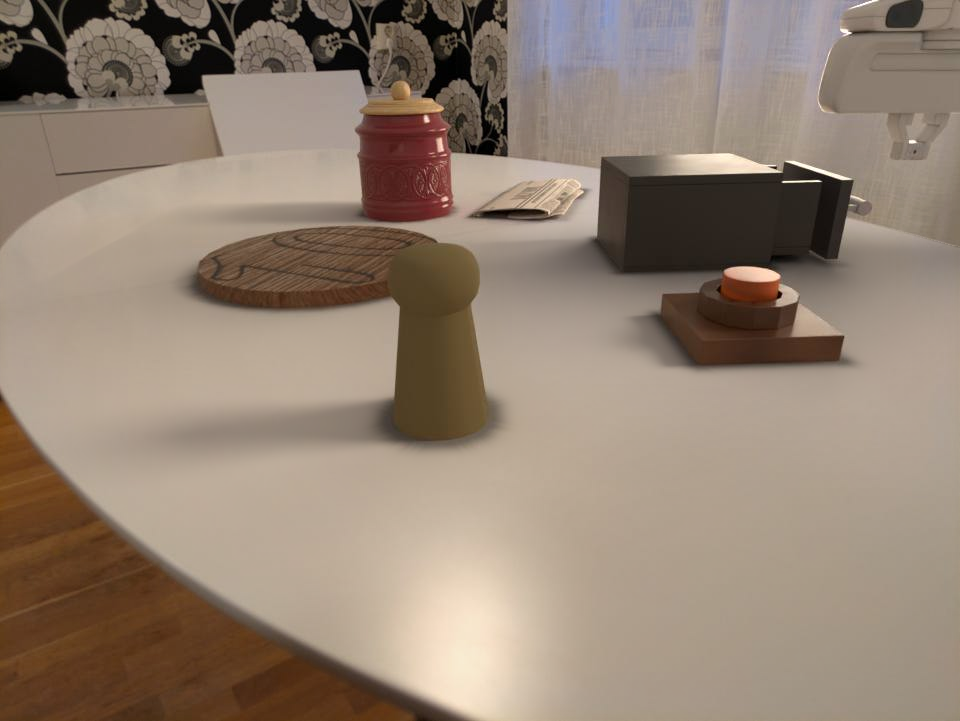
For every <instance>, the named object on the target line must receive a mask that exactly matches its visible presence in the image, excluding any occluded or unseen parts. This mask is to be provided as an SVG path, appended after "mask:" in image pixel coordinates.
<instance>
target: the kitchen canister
mask: <svg viewBox="0 0 960 721" xmlns="http://www.w3.org/2000/svg"><path fill="white" fill-rule="evenodd" d="M390 95H391V98H375V99H370V100H369V101H368V103H367V104H365V105H364V106H363V107H361V108H360V109H359V110H358V111H359V113H360V114H361V115H363V117H362V119H361V122H360V123H359V124H357V126H356V127H355V128H354V132H355V134H357V135H358V137H359V152H357V153H356V158H357V159H358V166H359V177H360V187H361V188H360V189H361V198H360V201H361V208H362V210H363V213H364V216H365V217H366V218H368V219H371V220H375V221H382V222H394V223H395V222H396V223H397V222H398V223H400V222H401V223H404V222H406V223H407V222H421V221H429V220H435V219H438V218H443V217H445V216H448V215H449V214H451V213H452V212H453V205H454V194H453V190H452V189H453V188H452V186H453V185H452V165H451V163H452V162H451V155H452V154H453V152H452V150H451V149H450V148H449V144H448V143H449V142H448V133H449V131H450V130H451V127H452V126H451V125H450V123H448V122H446V121H445V120H444V119H443V116H442V115H441V112H443V111H444V110H445V108H444V107H443V106H442V105H440V104H439V103H437V102H436V101H435V100H434V99H433V98H431V97H430V98H429V97H411V88H410V85H409V83H408V82H406V81H403V80H397V81H395V82H393V83H392V84H391V87H390Z"/></svg>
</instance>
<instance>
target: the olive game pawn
mask: <svg viewBox="0 0 960 721" xmlns="http://www.w3.org/2000/svg"><path fill="white" fill-rule="evenodd" d="M387 281H388V288H389V291H390V294H391V295H390V296H391V298H392V299H393V301H394V302H395V303H396V304H397V305H398V307H399V314H398V327H397V328H398V330H397V346H396V347H397V348H396V362H395V380H394V396H393V413H392V422H393V424H394V427H395V428H396V429H397V430H398V431H399V432H401V433H402V434H403V435H406V436H408V437H411V438H414V439H417V440H422V441H423V440H424V441H431V442H437V441H439V442H440V441H451V440H456V439H460V438H465V437H467V436H469V435H472V434H474V433H477V432H478V431H479V430H481V429H482V428H483V427H485V425H487V422H488V421H489V419H490V414H489V413H490V412H489V405H488V399H487V392H486V387H485V381H484V374H483V369H482V363H481V358H480V357H481V356H480V351H479V345H478V338H477V334H476V327H475V321H474V315H473V309H472V303H473V301H474V300H475V299H476V297H477V295H478V293H479V289H480V285H481V272H480V267H479V263H478V259H477V258H476V257H475V255H474V254H473V252H472V251H471V250H469V249H468V248H467V247H465V246H463V245H459V244H455V243H449V242H438V243H423V244H417V245H412V246H409V247H406V248H403V249H402V250H400V251H399V252H397V253H396V254H394V256H393V258H392V260H391V262H390V264H389V268H388V274H387Z"/></svg>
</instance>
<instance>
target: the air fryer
mask: <svg viewBox="0 0 960 721" xmlns="http://www.w3.org/2000/svg"><path fill="white" fill-rule="evenodd" d="M764 165H765V164H761V163H759V162H756V161H753V160H750V159H747V158H745V157H743V156H742V157H741V156H739V155H737V154H733V153H728V152H727V153H725V152H724V153H688V154H657V155H655V154H653V155H652V154H650V155H618V156H617V155H616V156H601V157H600V169H599V170H600V173H599V190H598V191H599V193H598V208H597V209H598V212H597V230H596V234H597V235H596V239H597V241H598V242H599V244H600V245H601V246H602V248H603V249H604V250H605V251H606V253H607V254H608V256H609V257H610V258H611V259H612V260H613V262H614V263H615V265H616V266H617V267H618V268H619V270H620V271H621V272H622V273H623V274H629V273H663V272H664V273H665V272H687V271H688V272H696V271H698V272H699V271H724V270H726V269H728V268H732V267H744V266H745V267H758V268H764V269H769V268H770V263H771V258H772V255H771V252H772V246H773V240H774V234H775V227H776V221H777V215H778V209H779V203H780V197H781V191H782V185H783V177H784V173H783V171H780V170H778V169H777V170H775V169H772V168H770V167H767V166H764Z"/></svg>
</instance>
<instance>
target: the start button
mask: <svg viewBox="0 0 960 721" xmlns="http://www.w3.org/2000/svg"><path fill="white" fill-rule="evenodd" d="M721 278H722V284H721V291H720V294H721V295H722V296H725V297H728V298H731V299H735V300H742V301H750V302H769V301H773V300H776V299H777V295H778V290H779V284H781V283H780V282H781V278H782V277H781V275H780V273H778V272H776V271H774V270H771V269H769V268H767V269H764V268H758V267H745V266H744V267H732V268H728V269H726V270H723V272H722V277H721Z"/></svg>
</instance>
